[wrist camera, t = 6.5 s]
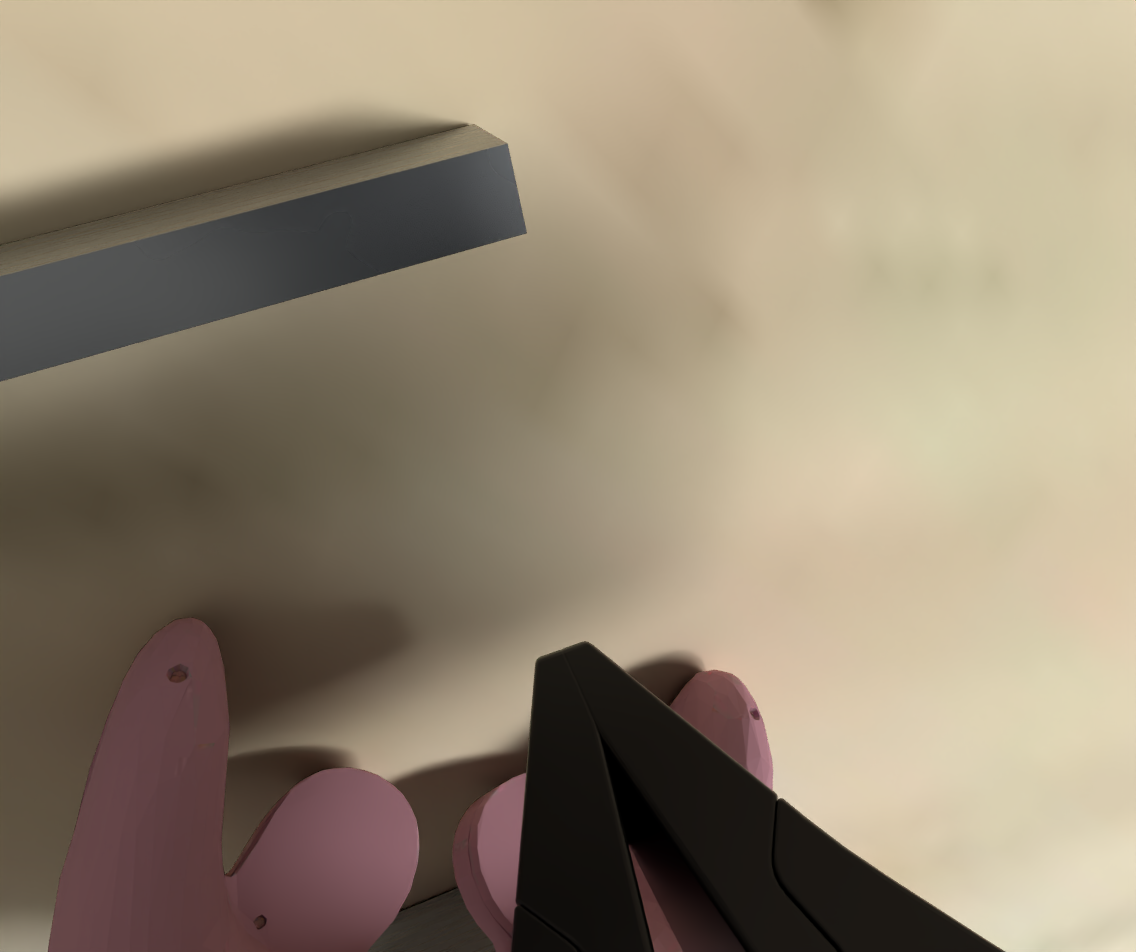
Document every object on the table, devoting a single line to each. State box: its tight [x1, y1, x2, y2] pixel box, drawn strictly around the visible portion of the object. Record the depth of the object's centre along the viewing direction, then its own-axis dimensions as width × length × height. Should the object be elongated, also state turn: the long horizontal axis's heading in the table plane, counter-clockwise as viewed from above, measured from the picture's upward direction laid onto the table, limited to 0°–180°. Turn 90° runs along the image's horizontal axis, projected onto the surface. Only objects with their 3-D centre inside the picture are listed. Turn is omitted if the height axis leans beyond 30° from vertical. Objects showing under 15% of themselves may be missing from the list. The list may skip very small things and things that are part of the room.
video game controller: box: [48, 618, 773, 952], centre depth 11 cm, size 10×5×7 cm, turn 68°
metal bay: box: [0, 124, 527, 952], centre depth 10 cm, size 14×15×2 cm
